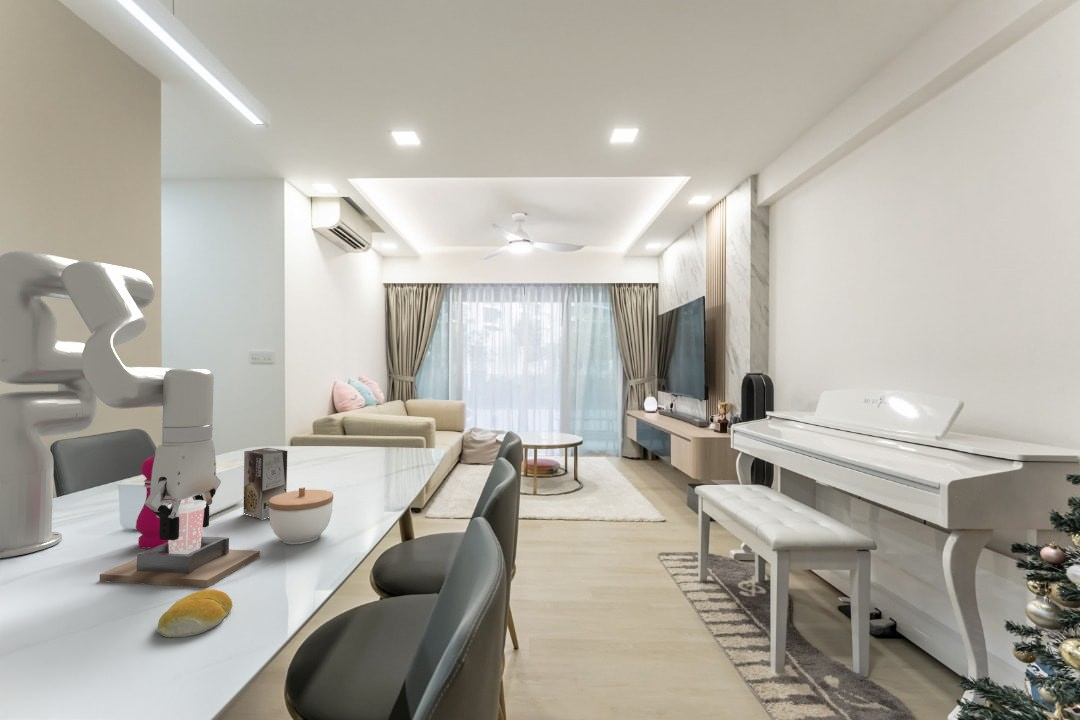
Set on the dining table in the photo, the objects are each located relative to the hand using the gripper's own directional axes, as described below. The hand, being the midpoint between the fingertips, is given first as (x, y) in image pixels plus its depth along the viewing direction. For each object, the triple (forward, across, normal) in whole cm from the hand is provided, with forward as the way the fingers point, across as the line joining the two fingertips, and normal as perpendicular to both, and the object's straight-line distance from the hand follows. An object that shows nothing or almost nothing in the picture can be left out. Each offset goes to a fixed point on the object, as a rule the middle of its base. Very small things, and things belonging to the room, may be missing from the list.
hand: (185, 531), depth 88 cm
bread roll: (+7, +17, +17) cm, 25 cm away
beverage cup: (+4, 0, 0) cm, 4 cm away
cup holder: (+7, 0, 0) cm, 7 cm away
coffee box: (+7, -32, -7) cm, 33 cm away
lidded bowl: (+7, -17, +12) cm, 22 cm away
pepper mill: (+7, -11, -16) cm, 21 cm away
